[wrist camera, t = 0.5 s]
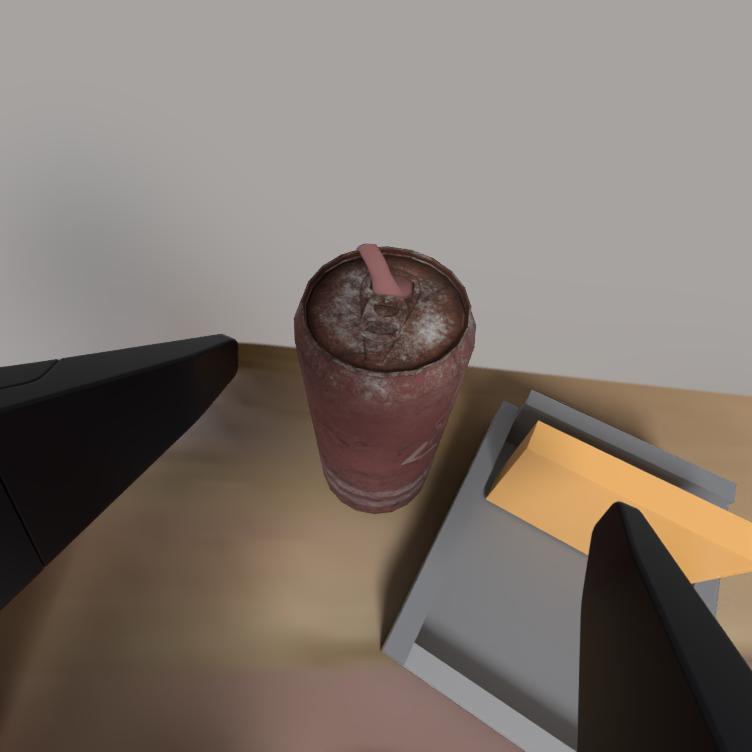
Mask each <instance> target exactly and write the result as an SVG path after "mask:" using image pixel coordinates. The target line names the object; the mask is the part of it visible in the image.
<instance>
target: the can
mask: <svg viewBox="0 0 752 752" xmlns="http://www.w3.org/2000/svg"><path fill="white" fill-rule="evenodd" d="M294 331H295V333H294V334H295V344H296V349H297V353H298V358H299V362H300V367H301V371H302V376H303V380H304V385H305V389H306V394H307V399H308V403H309V408H310V412H311V417H312V421H313V426H314V430H315V435H316V439H317V444H318V449H319V453H320V458H321V462H322V467H323V471H324V475H325V478H326V480H327V482H328V485H329V487H330V489H331V491H332V492H333V493H334V494H335V495H336V496H337V497H338V498H339V500H340V501H341V502H343V503H344V504H346V505H348V506H350V507H351V508H353V509H355V510H357V511H361V512H366V513H372V514H378V513H386V512H392V511H394V510H396V509H399V508H401V507H403V506H405V505H407V504H408V503H409V502H410V501H411V500H412V499H413V498H414V497H415V496H416V495H417V494H418V493H419V492H420V490H421V488H422V486H423V484H424V482H425V480H426V477H427V475H428V472H429V469H430V467H431V464H432V461H433V458H434V456H435V453H436V450H437V448H438V445H439V442H440V439H441V437H442V434H443V431H444V428H445V426H446V423H447V420H448V418H449V415H450V412H451V409H452V407H453V404H454V401H455V398H456V396H457V393H458V390H459V388H460V385H461V382H462V379H463V377H464V374H465V371H466V369H467V366H468V363H469V360H470V358H471V355H472V352H473V349H474V344H475V331H476V324H475V321H474V318H473V315H472V312H471V305H470V302H469V299H468V296H467V293H466V290H465V287H464V286H463V285H462V284H461V282H460V281H459V280H458V279H457V277H456V276H455V275H454V274H453V272H452V271H451V270H449V269H448V268H446V267H445V266H443V265H442V264H440V263H439V262H438V261H436V260H435V259H433V258H431V257H428V256H425V255H423V254H420V253H418V252H415V251H412V250H407V249H401V248H393V247H377V245H375V244H363V245H360V246H359V247H358V248H357V250H356V251H352V252H349V253H346V254H342V255H340V256H338V257H337V258H335V259H333V260H332V261H330V262H328V263H327V264H325V265H323V266H322V267H321V268H320V269H319V270H318V272H317V273H316V274H315V275H314V276H313V277H312V278H311V279H310V281H308V284H307V286H306V289H305V292H304V294H303V297H302V299H301V301H300V304H299V307H298V309H297V312H296V314H295V317H294Z"/></svg>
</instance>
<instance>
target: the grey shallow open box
mask: <svg viewBox="0 0 752 752" xmlns="http://www.w3.org/2000/svg"><path fill="white" fill-rule="evenodd" d="M538 421H540V422H543V423H545V424H547V425H549V426H551V427H553V428H555V429H557V430H559V431H561V432H563V433H566V434H568V435H570V436H572V437H574V438H576V439H578V440H580V441H582V442H584V443H586V444H588V445H591V446H593V447H595V448H597V449H599V450H601V451H603V452H605V453H607V454H609V455H611V456H613V457H616V458H618V459H620V460H622V461H624V462H626V463H628V464H630V465H632V466H634V467H636V468H638V469H641V470H643V471H645V472H647V473H649V474H651V475H653V476H655V477H657V478H659V479H661V480H664V481H666V482H668V483H670V484H672V485H674V486H676V487H678V488H680V489H682V490H684V491H686V492H689V493H691V494H693V495H695V496H697V497H699V498H701V499H703V500H705V501H707V502H709V503H711V504H714V505H716V506H718V507H720V508H722V509H724V510H726V511H728V507H727V505H729V504H732V503H734V501H735V492H736V484H735V483H733V482H731V481H729V480H727V479H724V478H722V477H720V476H718V475H716V474H714V473H711V472H709V471H707V470H705V469H703V468H701V467H698V466H696V465H694V464H692V463H690V462H688V461H685V460H683V459H681V458H679V457H677V456H675V455H672V454H670V453H668V452H666V451H664V450H662V449H659V448H657V447H655V446H653V445H651V444H649V443H646V442H644V441H642V440H640V439H638V438H636V437H633V436H631V435H629V434H627V433H625V432H623V431H620V430H618V429H616V428H614V427H612V426H610V425H607V424H605V423H603V422H601V421H599V420H597V419H594V418H592V417H590V416H588V415H586V414H584V413H581V412H579V411H577V410H575V409H573V408H571V407H568V406H566V405H564V404H562V403H560V402H558V401H555V400H553V399H551V398H549V397H547V396H545V395H543V394H540V393H538V392H536V391H534V390H531V392H530V393H529V395H528V396H527V398H526V399H525V401H524V402H523V404H522V405H521V407H520V408H519V407H517V406H515V405H513V404H511V403H509V402H507V401H505V400H503V402H502V403H501V405H500V407H499V409H498V410H497V412H496V414H495V416H494V418H493V419H492V421H491V423H490V425H489V427H488V429H487V431H486V433H485V435H484V437H483V439H482V441H481V444H480V446H479V448H478V450H477V452H476V454H475V456H474V458H473V460H472V462H471V464H470V466H469V468H468V470H467V473H466V475H465V477H464V479H463V481H462V483H461V485H460V487H459V489H458V491H457V493H456V495H455V497H454V499H453V501H452V504H451V506H450V508H449V510H448V512H447V514H446V516H445V518H444V520H443V522H442V524H441V526H440V528H439V530H438V532H437V535H436V537H435V539H434V541H433V543H432V545H431V547H430V549H429V551H428V553H427V555H426V557H425V559H424V561H423V563H422V566H421V568H420V570H419V572H418V574H417V576H416V578H415V580H414V582H413V584H412V586H411V588H410V590H409V592H408V595H407V597H406V599H405V601H404V603H403V605H402V607H401V609H400V611H399V613H398V615H397V617H396V619H395V621H394V623H393V626H392V628H391V630H390V632H389V634H388V636H387V638H386V640H385V642H384V644H383V646H382V648H381V650H380V651H381V652H382V653H384V654H385V655H387V656H388V657H390V658H391V659H393V660H394V661H395V662H397V663H398V664H400V665H401V666H403V667H404V668H405V669H407V670H408V671H410V672H411V673H413V674H414V675H416V676H417V677H418V678H420V679H421V680H423V681H424V682H426V683H427V684H428V685H430V686H431V687H433V688H434V689H436V690H437V691H439V692H440V693H441V694H443V695H444V696H446V697H447V698H449V699H450V700H452V701H453V702H454V703H456V704H457V705H459V706H460V707H462V708H463V709H464V710H466V711H467V712H469V713H470V714H472V715H473V716H475V717H476V718H477V719H479V720H480V721H482V722H483V723H485V724H486V725H488V726H489V727H490V728H492V729H493V730H495V731H496V732H498V733H499V734H500V735H502V736H503V737H505V738H506V739H508V740H509V741H511V742H512V743H513V744H515V745H516V746H518V747H519V748H521V749H522V750H523V751H525V752H577V729H578V691H579V653H580V615H581V601H582V593H583V586H584V580H585V573H586V567H587V560H588V555H586V554H585V553H583V552H581V551H579V550H577V549H575V548H574V547H572V546H570V545H568V544H566V543H564V542H563V541H561V540H559V539H557V538H555V537H554V536H552V535H550V534H548V533H546V532H544V531H543V530H541V529H539V528H537V527H535V526H533V525H532V524H530V523H528V522H526V521H524V520H522V519H521V518H519V517H517V516H515V515H513V514H512V513H510V512H508V511H506V510H504V509H502V508H501V507H499V506H497V505H495V504H493V503H491V502H490V501H488V500H486V497H487V495H488V492H489V490H490V488H491V486H492V483H493V481H494V479H495V477H496V475H497V474H498V473H499V471H500V470H501V469H502V467H503V466H504V465H505V463H506V462H507V461H508V460H509V458H510V457H511V456H512V454H513V453H514V452H515V450H516V449H517V448H518V446H519V445H520V444H521V443H522V441H523V440H524V439H525V437H526V436H527V435H528V433H529V432H530V431H531V429H532V428H533V427H534V425H535V424H536V423H537V422H538ZM719 584H720V578H717V579H712V580H707V581H702V582H697V583H692V585H693V587H694V588H695V590H696V591H697V593H698V594H699V596H700V597H701V598H702V600H703V601H704V603H705V604H706V606H707V607H708V608H709V610H710V611H711V613H712V614H713V616H714V617H715V618H716V610H717V601H718V592H719Z"/></svg>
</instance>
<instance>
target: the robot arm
mask: <svg viewBox="0 0 752 752" xmlns="http://www.w3.org/2000/svg"><path fill="white" fill-rule="evenodd" d="M237 370H238V343H237V341H236V340H235V339H233V338H231V337H228V336H226V335H223V334H217V335H211V336H204V337H198V338H191V339H185V340H178V341H172V342H165V343H159V344H152V345H146V346H139V347H133V348H126V349H120V350H113V351H107V352H100V353H94V354H87V355H81V356H74V357H68V358H62V359H60V360H57V359H55V360H48V361H42V362H35V363H28V364H20V365H14V366H6V367H0V611H1V610H2V609H3V608H4V607H5V606H6V605H7V604H8V603H9V602H10V601H11V600H12V599H13V598H14V597H15V596H16V595H17V594H18V593H19V592H20V591H21V590H23V589H24V588H25V587H26V586H27V585H28V584H29V583H30V582H31V581H32V580H33V579H34V578H35V577H36V576H37V575H38V574H39V573H40V572H41V571H42V570H43V569H44V567H46V566H47V565H48V564H49V563H50V562H51V561H52V560H53V559H54V558H55V557H56V556H57V555H59V554H60V553H61V552H62V551H63V550H64V549H65V548H66V547H67V546H68V545H69V544H70V543H71V542H72V541H73V540H74V539H75V538H76V537H77V536H78V535H79V534H80V533H81V532H82V531H83V530H84V529H85V528H87V527H88V526H89V525H90V524H91V523H92V522H93V521H94V520H95V519H96V518H97V517H98V516H99V515H100V514H101V513H102V512H103V511H104V510H105V509H106V508H107V507H108V506H109V505H110V504H111V503H112V502H114V501H115V500H116V499H117V498H118V497H119V496H120V495H121V494H122V493H123V492H124V491H125V490H126V489H127V488H128V487H129V486H130V485H131V484H132V483H133V482H134V481H135V480H136V479H137V478H138V477H139V476H140V475H142V474H143V473H144V472H145V471H146V470H147V469H148V468H149V467H150V466H151V465H152V464H153V463H154V462H155V461H156V460H157V459H158V458H159V457H160V456H161V455H162V454H163V453H164V452H165V451H166V450H167V449H169V448H170V447H171V446H172V445H173V444H174V443H175V442H176V441H177V440H178V439H179V438H180V437H181V436H182V435H183V434H184V433H185V432H186V431H187V430H188V429H189V428H190V427H191V426H192V425H193V424H194V423H195V422H196V421H197V420H198V419H199V418H200V417H201V416H202V415H203V414H204V412H205V411H206V410H207V409H208V408H209V406H210V405H211V404H212V403H213V402H214V401H215V399H216V398H217V397H218V396H219V395H220V393H221V392H222V391H223V390H224V389H225V387H226V386H227V385H228V384H229V383H230V381H231V380H232V379H233V378H234V376H235V375H236V373H237ZM577 752H752V670H751V669H750V667H749V666H748V664H747V663H746V661H745V660H744V659H743V657H742V656H741V654H740V653H739V651H738V650H737V649H736V647H735V646H734V644H733V643H732V641H731V640H730V639H729V637H728V636H727V634H726V633H725V631H724V630H723V628H722V627H721V626H720V624H719V623H718V621H717V620H716V618H715V617H714V616H713V614H712V613H711V611H710V610H709V608H708V607H707V606H706V604H705V603H704V601H703V600H702V598H701V597H700V596H699V594H698V593H697V591H696V590H695V588H694V587H693V585H692V584H691V583H690V581H689V580H688V578H687V577H686V575H685V574H684V573H683V571H682V570H681V568H680V567H679V565H678V564H677V563H676V561H675V560H674V558H673V557H672V555H671V554H670V552H669V551H668V550H667V548H666V547H665V545H664V544H663V542H662V541H661V540H660V538H659V537H658V535H657V534H656V532H655V531H654V530H653V528H652V527H651V525H650V524H649V522H648V521H647V520H646V518H645V517H644V515H643V514H642V512H641V511H640V510H639V509H637V508H635V507H633V506H630V505H628V504H626V503H623V502H621V501H617V502H615V503H613V504H612V505H611V506H610V507H609V509H608V510H607V511H606V512H605V514H604V515H603V516H602V517H601V518H600V520H599V521H598V522H597V523H596V525H595V526H594V528H593V531H592V535H591V541H590V547H589V554H588V560H587V567H586V573H585V580H584V586H583V593H582V601H581V615H580V653H579V691H578V729H577Z"/></svg>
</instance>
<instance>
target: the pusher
mask: <svg viewBox="0 0 752 752" xmlns="http://www.w3.org/2000/svg"><path fill="white" fill-rule="evenodd" d="M486 500H488V501H490V502H491V503H493V504H495V505H497V506H499V507H501V508H502V509H504V510H506V511H508V512H510V513H512V514H513V515H515V516H517V517H519V518H521V519H522V520H524V521H526V522H528V523H530V524H532V525H533V526H535V527H537V528H539V529H541V530H543V531H544V532H546V533H548V534H550V535H552V536H554V537H555V538H557V539H559V540H561V541H563V542H564V543H566V544H568V545H570V546H572V547H574V548H575V549H577V550H579V551H581V552H583V553H585V554H586V555H588V554H589V547H590V541H591V535H592V531H593V528H594V526H595V525H596V523H597V522H598V521H599V520H600V518H601V517H602V516H603V515H604V514H605V512H606V511H607V510H608V509H609V507H610V506H611V505H612V504H613V503H615V502H617V501H621V502H623V503H626V504H628V505H630V506H633V507H635V508H637V509H639V510H640V511H641V512H642V514H643V515H644V517H645V518H646V520H647V521H648V522H649V524H650V525H651V527H652V528H653V530H654V531H655V532H656V534H657V535H658V537H659V538H660V540H661V541H662V542H663V544H664V545H665V547H666V548H667V550H668V551H669V552H670V554H671V555H672V557H673V558H674V560H675V561H676V563H677V564H678V565H679V567H680V568H681V570H682V571H683V573H684V574H685V575H686V577H687V578H688V580H689V581H690V583H691V584H692V583H697V582H702V581H707V580H712V579H717V578H722V577H727V576H732V575H737V574H742V573H746V572H751V571H752V523H751V522H749V521H747V520H745V519H743V518H741V517H739V516H736V515H734V514H732V513H730V512H728V511H726V510H724V509H722V508H720V507H718V506H716V505H714V504H711V503H709V502H707V501H705V500H703V499H701V498H699V497H697V496H695V495H693V494H691V493H689V492H686V491H684V490H682V489H680V488H678V487H676V486H674V485H672V484H670V483H668V482H666V481H664V480H661V479H659V478H657V477H655V476H653V475H651V474H649V473H647V472H645V471H643V470H641V469H638V468H636V467H634V466H632V465H630V464H628V463H626V462H624V461H622V460H620V459H618V458H616V457H613V456H611V455H609V454H607V453H605V452H603V451H601V450H599V449H597V448H595V447H593V446H591V445H588V444H586V443H584V442H582V441H580V440H578V439H576V438H574V437H572V436H570V435H568V434H566V433H563V432H561V431H559V430H557V429H555V428H553V427H551V426H549V425H547V424H545V423H543V422H540V421H538V422H537V423H536V424H535V425H534V427H533V428H532V429H531V431H530V432H529V433H528V435H527V436H526V437H525V439H524V440H523V441H522V443H521V444H520V445H519V446H518V448H517V449H516V450H515V452H514V453H513V454H512V456H511V457H510V458H509V460H508V461H507V462H506V463H505V465H504V466H503V467H502V469H501V470H500V471H499V473H498V474H497V475H496V477H495V479H494V481H493V483H492V486H491V488H490V490H489V492H488V495H487V497H486Z"/></svg>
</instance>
